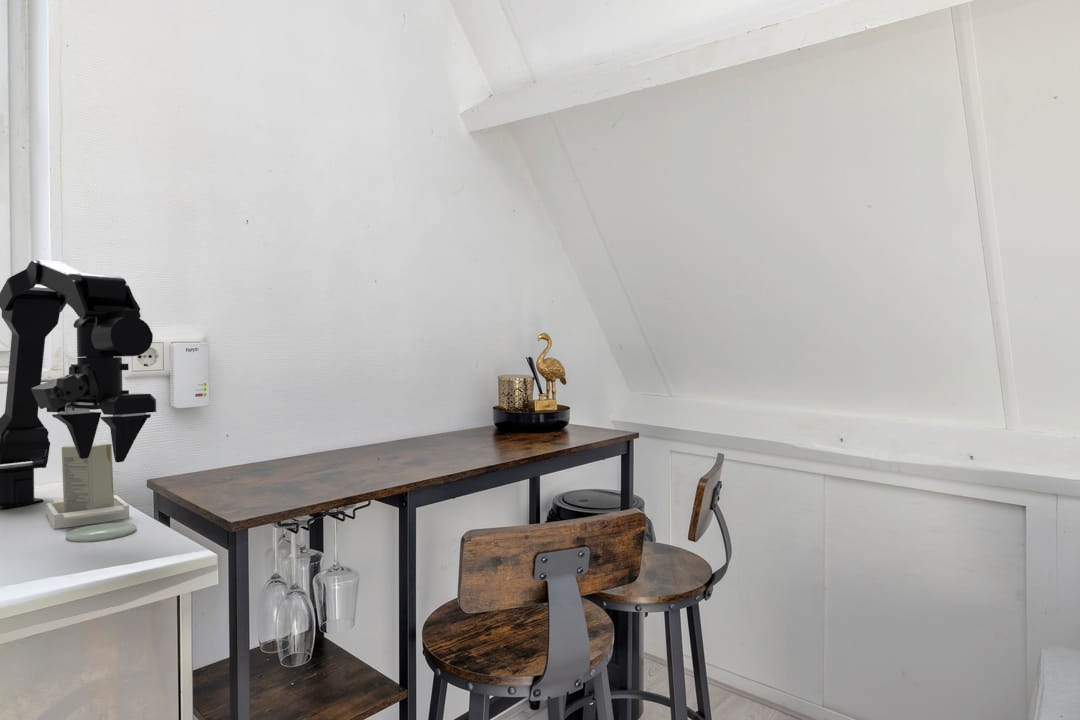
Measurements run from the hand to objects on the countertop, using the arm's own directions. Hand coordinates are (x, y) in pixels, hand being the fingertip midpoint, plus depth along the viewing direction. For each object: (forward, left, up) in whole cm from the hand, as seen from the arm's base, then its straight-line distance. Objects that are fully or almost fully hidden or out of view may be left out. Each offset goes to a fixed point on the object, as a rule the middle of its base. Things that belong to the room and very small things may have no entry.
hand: (101, 460), depth 103 cm
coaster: (0, 0, -11) cm, 11 cm away
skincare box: (-14, +6, -11) cm, 19 cm away
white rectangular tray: (-14, +5, -11) cm, 18 cm away
